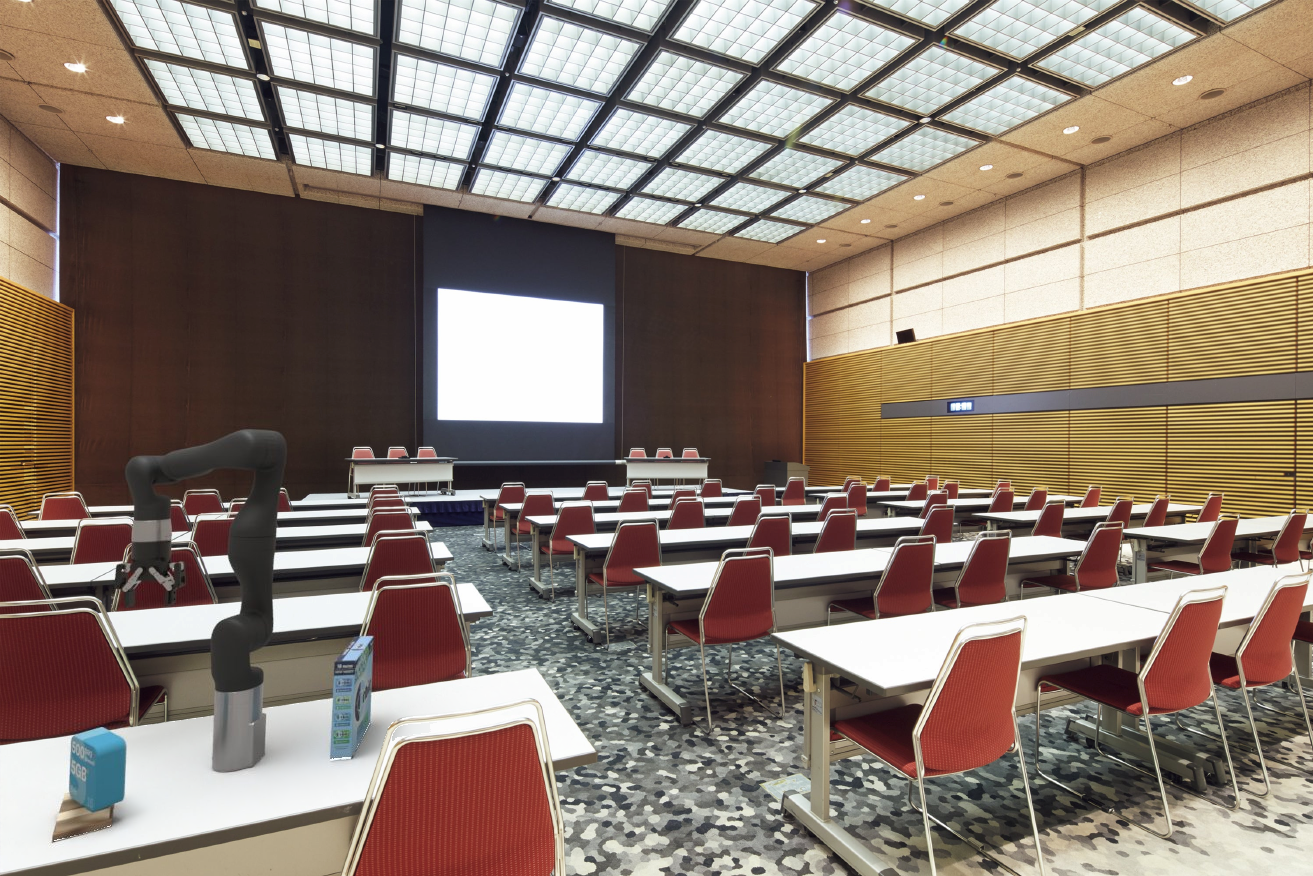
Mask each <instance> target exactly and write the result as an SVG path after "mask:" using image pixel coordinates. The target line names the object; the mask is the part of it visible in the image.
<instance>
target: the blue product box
mask: <svg viewBox="0 0 1313 876" xmlns="http://www.w3.org/2000/svg"><path fill="white" fill-rule="evenodd" d="M374 639H375V638H374V635H366V636H365V635H364V636H363V635H362V636H354V637H353V639H352V640H351V641H350V642H349V644H348V645H347V646H346V647H345V648H344V649H343V651H341V653H340V655H338V657H337V658H336V659H335V660H334V662H333V663H334V666H333V686H332V687H333V688H332V707H331V711H332V712H331V730H330V752H329V753H330V755H329V760H330V759H332V758H333V759H334V758H342V757H352V755H353V754H354V752H355V750H356V748H357V746H358V744H359V743H360V744H361V742H362V741H361V739H362V737H363V735H364V733H365V731H366V729H367V727H368V725H369V723H370V724H371V716H372V714H371V713H372V687H373V659H374V658H373V657H374ZM369 726H370V725H369ZM368 728H369V727H368ZM367 730H368V729H367ZM366 732H367V731H366ZM365 734H366V733H365ZM364 736H365V735H364ZM363 738H364V737H363ZM362 740H363V739H362ZM360 741H361V742H360ZM360 744H359V745H360ZM358 747H359V746H358ZM357 749H358V748H357ZM356 751H357V750H356ZM355 753H356V752H355ZM354 755H355V754H354Z"/></svg>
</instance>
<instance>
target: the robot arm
mask: <svg viewBox="0 0 1313 876" xmlns="http://www.w3.org/2000/svg"><path fill="white" fill-rule="evenodd" d="M287 453H288V448H287V442H286V439H285V437H284V436H283V434H282V433H281V432H278V431H276V430H267V429H252V428H251V429H250V428H249V429H246V428H244V429H240V430H237V431H234V432H233V433H229V434H227V435H225V436H223V437H221V438H219V439H216V440H214V441H212V442H209V443H205V444H203V445H202V444H201V445H198V446H192V447H187V448H182V449H178V450H173V451H171V452H169V453H168V452H167V454H165V455H136V456H134V457H132V458H131V459H130V460H129V461H128V462H127V464H126V467H125V472H124V474H125V480H126V483H127V485H128V488H129V491H130V494H131V497H132V501H133V522H132V523H133V524H132V529H131V550H130V551H131V552H130V554H131V555H130V558H131V563H129V562H120V563H118V564H116V566H115V574H114V583H113V584H114V585H113V587H114V590H121V591H123V605H124V606H125V608H132V607H134V606H135V604H136V587H138V585H139V584H140V583H142V582H147V581H149V582H158V583H159V584H160V585H162V586H163V587H164V588H165V589H166V590H165V591H164V592H165V594H164V595H165V596H164V598H165V599H164V602H165V603H164V606H165V607H171V606H173V605H174V604H175V603H176V601H177V590H178V589H179V588H181V587H184V586H186V585H187V575H186V562H185V561H184V560H183V561H179V562H172V561H171V557H172V538H173V533H172V531H173V528H172V520H171V518H172V500H171V497H170V496H168V495H166V494H161V493H157V492H156V491H155V489H154V487H153V486H154V485H155V486H156V485H169V484H170V485H171V484H174V483H179V482H180V481H183V480H187V479H191V478H197V477H201V476H204V475H207V474H209V473H211V472H212V471H214V470H217V469H237V470H238V469H239V470H245V471H254V478H253V483H252V488H251V491H250V493H249V495H248V497H247V498H246V500H245V502H244V503H243V505H242V506H241V508H240V509H239V511H238V512H237V513H236V515H235V516H234V518H233V520H232V521H231V524H230V526H229V533H228V543H227V558H228V561H229V565H230V567H231V569H232V571H233V573H234V575H235V576H236V578H237V580H238V582H239V585H240V589H241V601H240V602H241V604H240V610H239V613H238V614H235V615H232V616H228V617H226V618H223V619H221V620H219V621H218V622H217V623H216V624H215V626H214V628H213V630H212V632H211V636H210V674H211V678H212V679H213V681H214V701H213V702H214V703H213V704H214V705H213V727H212V728H213V729H212V731H213V733H212V752H211V753H212V754H211V755H212V756H211V768H212V769H213V771H216V772H221V773H222V772H223V773H224V772H225V773H226V772H235V771H238V770H239V771H240V770H242V769H246V768H253V767H254V766H255V765H256V764H257V763H258V762H259V761H260V760H261V759H262V758H263V757H264V755H265V754H266V734H267V733H266V731H267V728H266V727H267V713H266V712H264V713H263V704H264V702H263V701H264V700H263V699H264V697H263V696H264V677H265V675H264V670H263V668H261V667H258V666H251V657H250V655H251V654H250V653H253V652H256V651H258V650H261V649H262V648H263V647H265V646H267V645H268V643H269V642H270V641H271V638H272V636H273V633H274V632H273V631H274V603H273V602H274V601H273V583H274V563H275V554H276V545H277V544H276V543H277V526H278V525H277V524H278V513H279V504H280V503H279V502H280V496H281V495H280V494H281V490H282V484H283V480H284V472H285V467H286V462H287V456H288V454H287ZM170 570H172V572H173V575H174V577H173V575H172V574H171V573H170V572H169V571H170ZM130 571H131V572H132V573H133V574H132V575H131V576H130V578H128V576H129V574H128V573H129V572H130ZM261 757H262V758H261ZM252 766H253V767H252Z"/></svg>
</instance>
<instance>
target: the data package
mask: <svg viewBox="0 0 1313 876" xmlns="http://www.w3.org/2000/svg"><path fill="white" fill-rule="evenodd" d="M69 756H70V757H69V775H68V776H69V777H68V779H69V781H68V793H70V796H71V797H72V798H73V799H74V800H76V801H77V802H79V803H80V804H81V805H83V806H84V807H86V808H87V809H89V810H90V811H92V812H95V811H97V810H100V809H103V808H105V807H108V806H110V805H113V804H114V805H115V804H118V803H121V802H122V801H124V799H125V796H126V795H125V794H126V792H125V791H126V770H127V769H126V768H127V766H126V765H127V741H126V739H125V738H124V737H122V736H121V735H118V734H116V733H115V732H113V731H111V730H109V729H107V728H106V727H102V726H101V727H96V728H93V729H91V730H86V731H83V732H80V733H76V734H74V735H73V736H72V737H71V740H70V755H69Z"/></svg>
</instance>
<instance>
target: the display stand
mask: <svg viewBox="0 0 1313 876" xmlns="http://www.w3.org/2000/svg"><path fill="white" fill-rule="evenodd" d="M114 809H115V804H113V805H110V806H108V807H105V808H103V809H100V810H97V811H95V812H92V811H90V810H89V809H87V808H86V807H84V806H83V805H81V804H80V803H79V802H77V801H76V800H74V799H73V798H72V797H71V796H70V793H69V792H65V793H64V794H63V798H62V802H61V804H60V808H59V811H58V814H57V819H56V822H55V825H54V828H53V829H54V830H53V831H52V832H53V833H52V834H51V835H52V837H51V838H52V840H51V842H52V841H54V840H57V839H62V838H67V837H70V836H74V835H78V836H80V835H79V834H82V835H84V834H83V833H86V832H89V833H91V832H90V831H93V832H95V831H94V830H97V829H101V828H104V827H107V826H110V825H111V824H113V818H114V811H113V810H114ZM112 817H113V818H112ZM111 826H112V825H111ZM104 829H105V828H104ZM101 830H102V829H101ZM97 831H98V830H97ZM86 834H87V833H86ZM74 837H75V836H74ZM70 838H71V837H70ZM67 839H68V838H67Z"/></svg>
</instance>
